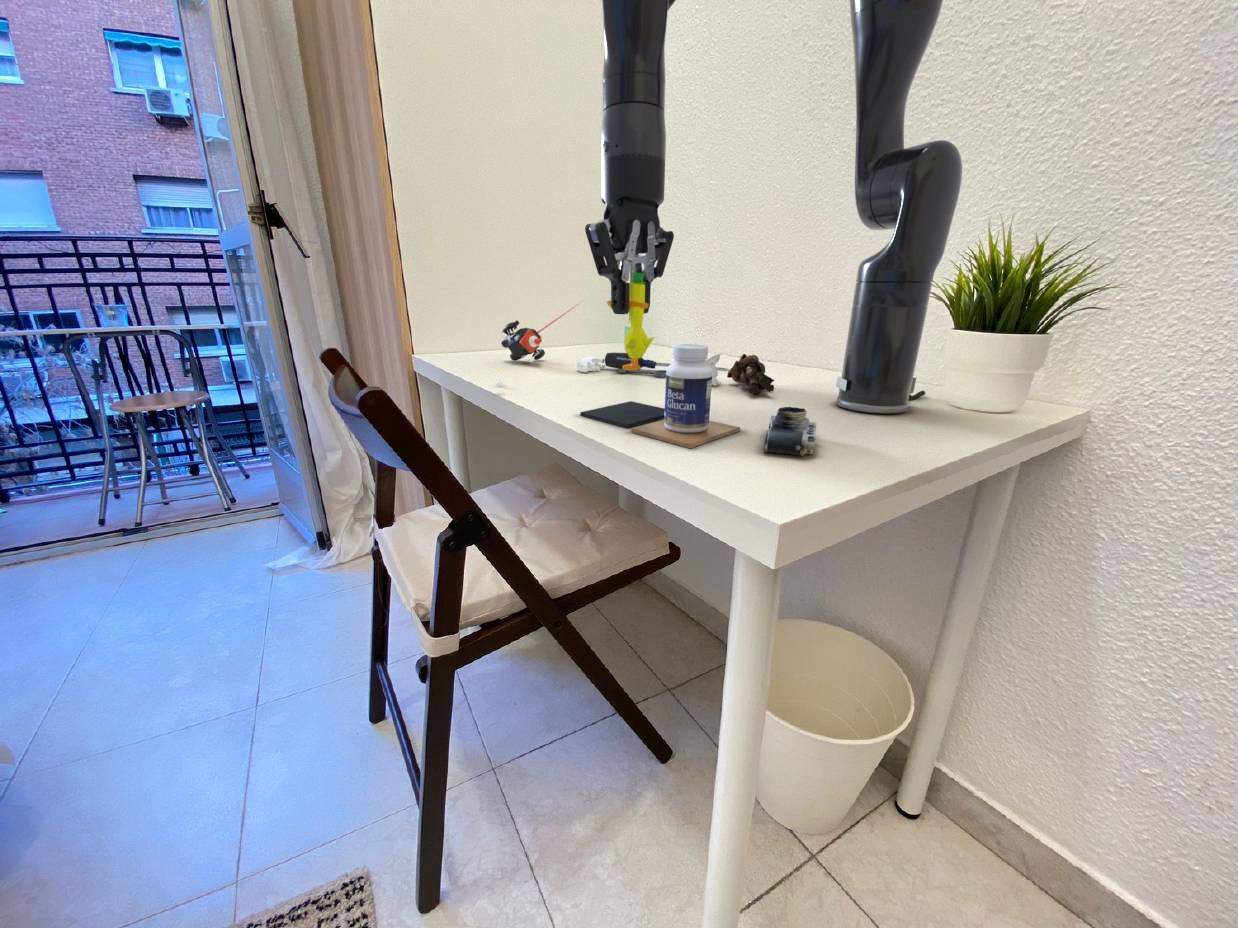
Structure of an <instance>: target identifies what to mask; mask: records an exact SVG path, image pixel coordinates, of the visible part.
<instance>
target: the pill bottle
mask: <svg viewBox="0 0 1238 928" xmlns="http://www.w3.org/2000/svg"><path fill="white" fill-rule="evenodd" d="M708 355H709V345H708V346H707V345H705V344H698V343H697V344H696V343H678V344H674V345H673V346H672V358H673V359H674V362H672V363H670V364H671V365H669V366H668V367H666V377H665V389H664V396H665V397H664V408H665V412H664V419H663V420H664V425H665V427H666V428H667V429H669V430H671V431H675V432H681V433H698V432H702V431H705V430H706V429H707V428H708V426H709V421H710V413H711V399H712V386H713V385H712V368H711V367H710V366H709V365H707V364H705V360H707V359H708V357H709V356H708Z"/></svg>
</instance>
